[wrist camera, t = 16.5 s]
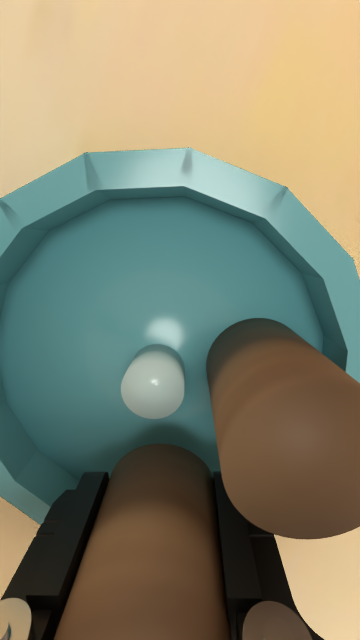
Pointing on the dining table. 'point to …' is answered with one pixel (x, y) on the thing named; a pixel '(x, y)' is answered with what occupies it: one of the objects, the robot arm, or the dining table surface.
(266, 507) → the walnut bead
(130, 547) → the walnut bead
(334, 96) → the dining table surface
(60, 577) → the robot arm
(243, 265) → the groove tray
